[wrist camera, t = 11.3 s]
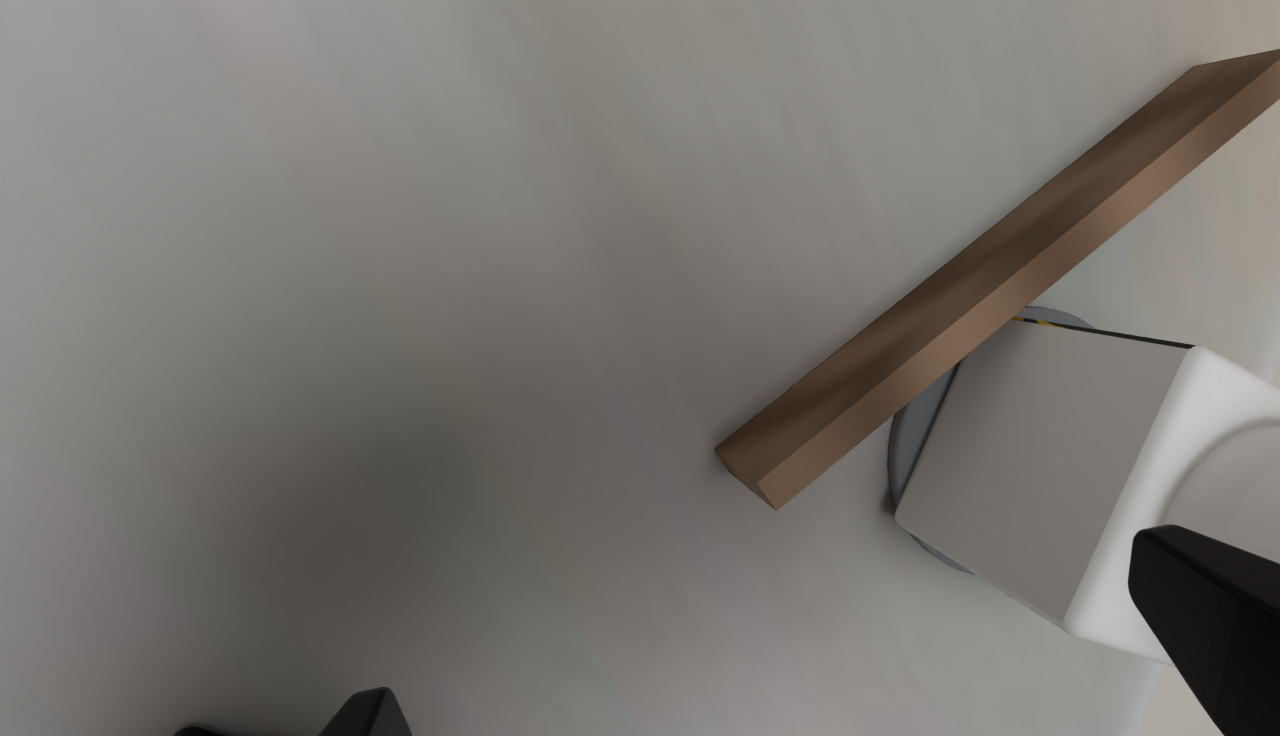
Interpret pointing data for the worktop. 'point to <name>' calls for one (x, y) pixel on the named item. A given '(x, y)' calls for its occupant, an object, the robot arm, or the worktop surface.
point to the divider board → (996, 277)
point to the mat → (921, 416)
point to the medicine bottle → (1093, 467)
